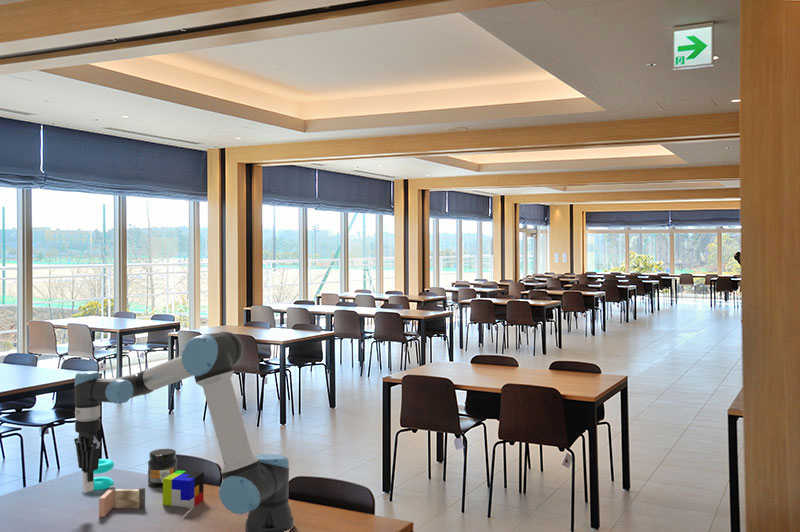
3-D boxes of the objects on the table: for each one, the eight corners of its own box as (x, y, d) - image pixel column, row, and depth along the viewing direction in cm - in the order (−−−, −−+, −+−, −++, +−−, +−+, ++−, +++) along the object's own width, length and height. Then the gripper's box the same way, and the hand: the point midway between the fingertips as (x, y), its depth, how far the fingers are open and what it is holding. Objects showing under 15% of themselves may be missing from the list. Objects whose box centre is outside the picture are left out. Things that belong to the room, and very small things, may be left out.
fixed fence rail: (146, 507, 234) (146, 487, 234) (143, 509, 232) (143, 489, 232) (116, 506, 234) (117, 487, 234) (114, 508, 232) (114, 489, 232)
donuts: (119, 459, 258) (100, 466, 248) (119, 486, 258) (100, 494, 248) (98, 456, 261) (78, 463, 252) (98, 483, 261) (78, 491, 252)
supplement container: (167, 488, 255) (167, 456, 255) (141, 486, 258) (142, 454, 258) (182, 480, 266) (182, 449, 266) (158, 478, 268) (158, 447, 268)
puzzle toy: (189, 510, 234) (189, 481, 234) (162, 507, 236) (162, 478, 236) (203, 500, 244) (203, 472, 244) (177, 498, 246) (178, 470, 246)
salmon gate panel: (110, 505, 234) (110, 485, 234) (115, 505, 234) (115, 485, 234) (98, 516, 223) (98, 496, 223) (104, 516, 224) (104, 496, 223)
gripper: (66, 418, 226) (66, 490, 226) (87, 423, 219) (88, 497, 218) (87, 414, 232) (88, 484, 232) (109, 419, 225) (110, 491, 224)
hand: (88, 490), depth 225 cm, fingers closed
